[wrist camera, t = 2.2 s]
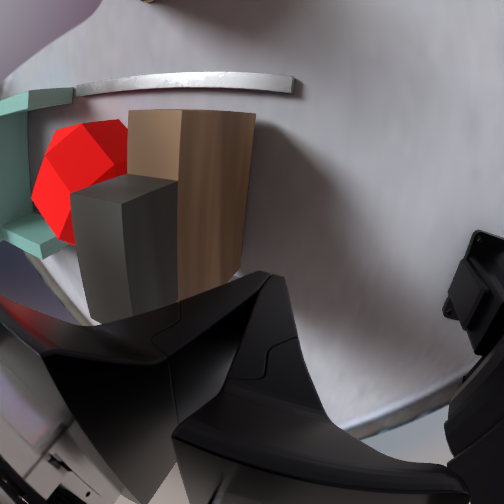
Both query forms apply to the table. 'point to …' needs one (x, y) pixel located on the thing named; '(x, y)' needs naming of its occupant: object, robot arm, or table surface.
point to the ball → (77, 169)
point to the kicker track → (192, 84)
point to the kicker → (165, 212)
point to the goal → (24, 173)
